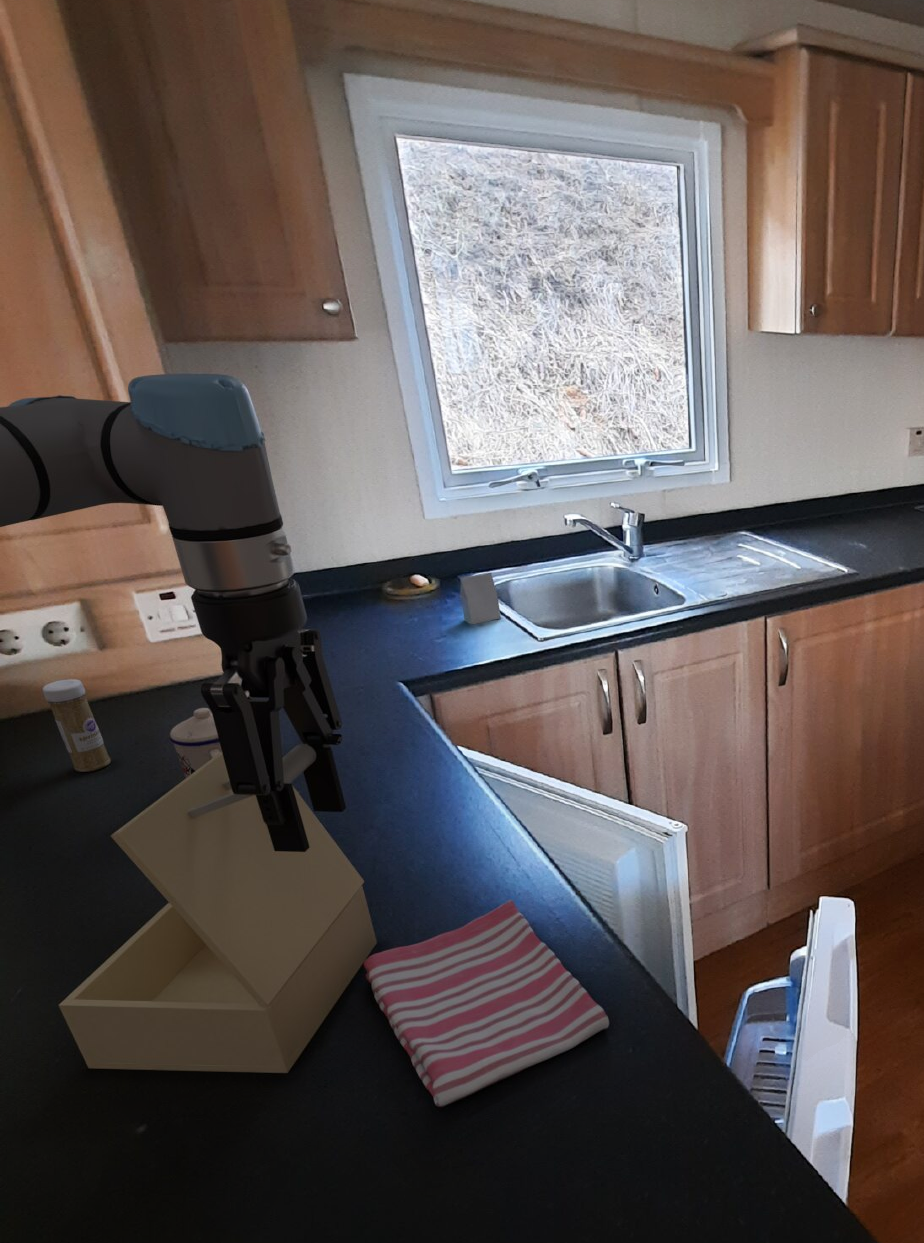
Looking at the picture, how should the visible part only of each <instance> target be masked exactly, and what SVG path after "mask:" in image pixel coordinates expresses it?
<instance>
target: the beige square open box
mask: <svg viewBox="0 0 924 1243" xmlns="http://www.w3.org/2000/svg"><path fill="white" fill-rule="evenodd" d="M368 906H369V905H368V902H367V899H366V894H365V890H364V886H363V885H361V887H360V888H359V889H358V890H357V892H356V893H355V894H354V896H353V897H352V898H351V899H350V901H349V902H348V903H347V905H346V906H345V907H344V908H343V910H342V911H341V912H340V914H339V915H338V916H337V917H336V919H335V920H334V921H333V923H332V924H331V925H330V926H329V928H328V929H327V930H326V932H325V933H324V934H323V935H322V937H321V938H320V939H319V941H318V942H317V943H316V944H315V946H314V947H313V948H312V950H311V951H310V952H309V953H308V955H307V956H306V957H305V958H304V960H303V961H302V962H301V964H300V965H299V966H298V967H297V969H296V970H295V971H294V973H293V974H292V975H291V976H290V978H289V979H288V980H287V982H286V983H285V984H284V985H283V987H282V988H281V989H280V991H279V992H278V993H277V994H276V996H275V997H274V998H273V1000H272V1001H271V1002H270V1003H269V1005H266V1006H263V1007H261V1006H260V1005H259V1004H258V1003H257V1002H256V1000H255V999H254V998H253V997H252V996H251V995H250V994H249V992H248V991H247V990H246V989H245V988H244V987H243V986H242V985H241V983H240V982H239V981H238V980H237V979H236V978H235V977H234V975H233V974H232V973H231V972H230V971H229V970H228V969H227V968H226V966H225V965H224V964H223V963H222V962H221V961H220V960H219V958H218V957H217V956H216V955H215V954H214V953H213V952H212V951H211V949H210V948H209V947H208V946H207V945H206V944H205V943H204V941H203V940H202V939H201V938H200V937H199V936H198V935H197V934H196V932H195V931H194V930H193V929H192V928H191V927H190V926H189V924H188V923H187V922H186V921H185V920H184V919H183V918H182V917H181V915H180V914H179V913H178V912H177V911H176V910H175V909H174V907H173V906H172V905H171V904H170V903H169V902H168V903H167V904H165V905H164V906H163V907H162V908H161V909H160V910H159V911H157V913H156V914H155V915H154V916H153V917H152V918H150V919H149V920H148V921H147V922H145V924H144V925H143V926H142V927H141V928H140V929H139V930H137V931H136V932H135V933H134V934H133V935H132V936H131V937H130V938H128V940H127V941H125V943H123V945H122V946H120V947H119V948H118V949H117V950H116V951H115V952H114V953H113V954H112V955H111V956H110V957H108V958H107V959H106V960H105V961H104V962H103V963H102V964H101V965H100V966H99V967H98V968H96V970H94V971H93V972H92V973H91V974H90V975H89V976H88V977H87V978H86V979H85V980H84V981H83V982H81V984H79V985H78V986H77V987H76V988H75V989H74V990H73V991H72V992H70V994H69V995H68V996H66V998H65V999H63V1000H62V1001H61V1002H60V1003H59V1004H58V1008H59V1009H60V1012H61V1013H62V1016H63V1017H64V1018H63V1019H64V1021H65V1022H66V1024H67V1026H68V1028H69V1031H70V1032H71V1034H72V1036H73V1039H74V1041H75V1043H76V1045H77V1048H78V1049H79V1051H80V1053H81V1056H82V1057H83V1060H84V1062H85V1064H86V1066H87V1068H88V1069H94V1070H95V1069H97V1070H98V1069H99V1070H100V1069H101V1070H103V1069H104V1070H105V1069H106V1070H137V1071H139V1070H143V1071H144V1070H145V1071H177V1072H178V1071H179V1072H182V1071H183V1072H185V1071H186V1072H222V1073H223V1072H225V1073H226V1072H227V1073H261V1074H262V1073H264V1074H265V1073H267V1074H269V1073H270V1074H288V1073H289V1072H290V1070H291V1069H292V1067H293V1066H294V1064H295V1063H296V1062H297V1060H298V1059H299V1058H300V1056H301V1054H302V1053H303V1051H304V1050H305V1049H306V1047H307V1046H308V1044H309V1043H310V1041H311V1040H312V1038H313V1037H314V1036H315V1034H316V1032H318V1030H319V1028H320V1027H321V1025H322V1024H323V1022H324V1021H325V1020H326V1017H328V1015H329V1014H330V1013H331V1010H332V1009H333V1008H334V1006H335V1005H336V1003H337V1002H338V1001H339V999H340V998H341V996H342V995H343V993H344V992H345V990H346V989H347V988H348V986H349V985H350V984H351V981H352V980H353V979H354V977H355V976H356V974H357V973H358V972H359V970H360V968H361V967H362V965H364V964H363V963H364V961H365V960H367V959H368V958H369V955H370V954H371V952H372V951H373V949H374V948H375V946H376V945H377V943H378V941H377V938H376V933H375V930H374V926H373V922H372V918H371V915H370V910H369V907H368Z"/></svg>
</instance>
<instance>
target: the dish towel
mask: <svg viewBox="0 0 924 1243" xmlns="http://www.w3.org/2000/svg"><path fill="white" fill-rule="evenodd" d="M362 965H363V967H364V969H365V971H366V972H367V973H366V974H365V979H366V980H367V982H369V983H370V987H371V990H372V993H373V996H374V997H373V998H374V999H375V1002H376V1003H377V1005H378V1006H379V1009H380V1010H381V1011H382V1012H383V1013H384V1015H385V1016H386V1018H387V1019H388V1022H389V1025H390V1027H391V1029H392V1030H393V1033H394V1035H395V1036H396V1038H397V1040H398V1041H399V1044H401V1046H402V1047H403V1049H404V1050H405V1051H406V1052H407V1055H408V1056H409V1058H410V1061H411V1063H412V1067H413V1068H414V1070H415V1072H416V1074H417V1076H418V1078H419V1079H420V1080H421V1083H422V1084H423V1086H424V1087H425V1089H426V1090H428V1091H429V1093H430V1095H431V1096H432V1098H433V1101H434V1104H435V1106H436V1107H437V1108H444V1107H446V1106H448V1105H450V1104H453V1103H455V1102H457V1101H460V1100H463V1099H465V1098H467V1097H470V1096H471V1095H473V1094H475V1093H478V1092H479V1091H481V1090H483V1089H484V1088H487V1087H489V1086H492V1085H494V1084H496V1083H497V1082H500V1081H502V1080H505V1079H508V1078H510V1077H512V1076H513V1075H516V1074H518V1073H520V1072H522V1071H525V1070H526V1069H529V1068H531V1067H533V1066H535V1065H537V1064H539V1063H543V1062H544V1061H547V1060H550V1059H551V1058H553V1057H557V1056H558V1055H561V1054H562V1053H566V1052H567V1051H569V1050H571V1049H573V1048H575V1047H577V1046H578V1045H580V1044H582V1043H583V1042H585V1041H586V1040H588V1039H589V1038H591V1037H593V1036H595V1035H596V1034H599V1033H600V1032H602V1031H604V1030H607V1029H608V1028H609V1026H610V1020H609V1017H608V1015H607V1014H606V1012H605V1010H604V1008H603V1007H602V1006H601V1005H600V1004H598V1003H597V1002H596V1001H595V1000H594V999H593V998H592V996H591V995H590V994H589V992H588V991H587V989H585V987H583V986H582V985H581V983H580V982H579V980H578V979H577V978H575V977H574V976H573V975H572V973H571V972H570V971H568V970H567V969H566V968H565V967H564V965H563V964H562V961H561V959H559V958H558V957H557V956H556V954H555V952H554V951H552V950H551V949H550V948H549V947H548V945H547V944H546V943H545V942H543V941H541V940H540V939H539V938H538V937H537V934H536V933H535V931H534V930H533V928H532V927H531V925H530V923H529V920H527V919H526V917H525V916H524V914H523V913H521V912H520V911H519V910H518V908H517V906H516V904H515V903H514V901H513V900H512V899H509V900H507V901H506V902H504V903H502V904H500V905H499V906H497V907H496V908H495V909H493V910H491V911H489V912H488V913H485V914H483V915H481V916H479V917H477V918H474V919H472V920H471V921H470V922H468V923H467V924H465V925H464V926H462V927H459V928H456V929H454V930H450V931H447V932H444V933H441V934H438V935H436V936H434V937H432V938H429V939H427V940H424V941H421V942H418V943H413V944H409V945H405V946H397V947H394V948H390V949H386V950H383V951H381V952H377V953H374V954H372V955H370V956H368V957H367V958H366V960H365V961H364V962H363V964H362Z"/></svg>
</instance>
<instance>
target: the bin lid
mask: <svg viewBox="0 0 924 1243" xmlns="http://www.w3.org/2000/svg"><path fill="white" fill-rule="evenodd" d="M315 760H316V752H315V751H314V749H313V748H312V747H310V746H308V744H303V743H299V744H297V745H296V746H295V747H293V748H292V749H291V750H290V751H289V752H288V753H286V754H285V755H284V756H282V762H283V775H284V783H292V782H293V781H294V780H296V779H297V778H298V777H299V776H300V775H301V774H303V771H304V770H305V769H306V768H308V767H309V766H310V765H311V764H312V763H313V762H314V761H315ZM268 777H269V776H268ZM293 789H294V793H295V797H296V800H297V804H298V807H299V811H300V814H301V818H302V822H303V825H304V829H305V832H306V836H307V839H308V843H309V846H310V847H309V849H308V850H307V851H306V852H284V851H274V847H273V844H272V841H271V837H270V834H269V831H268V828H267V825H266V824H265V822H264V821H263V818H262V814H261V810H260V808H259V805H258V801H257V798H256V795H236V794H234V793H233V791H232V788H231V784H230V780H229V777H228V773H227V769H226V765H225V761H224V757H223V753H222V751H221V752H220V753H219V754H218V755H216V756H215V757H214V758H212V759H211V760H210V761H208V762H207V763H206V764H204V765H203V766H202V767H200V768H199V769H198V770H196V771H195V772H194V773H193V774H191V775H190V776H189V777H187V778H185V779H183V780H182V781H180V783H178V784H176V785H175V786H174V787H173V788H171V789H170V790H169V791H168V792H166V793H165V794H164V795H162V796H161V797H160V798H158V799H157V800H156V801H154V802H153V803H151V804H150V805H149V806H148V807H146V808H145V809H144V810H142V811H141V812H140V813H138V814H137V815H136V816H135V817H132V819H131V820H129V821H128V822H127V823H125V824H124V825H123V826H121V827H120V828H119V829H118V830H116V831H115V832H113V833H112V834H111V835H110V837H111V838H112V839H113V841H114V842H115V843H116V844H117V845H118V846H119V848H120V849H121V850H122V851H123V852H124V853H125V854H126V855H127V857H128V858H129V859H130V860H131V861H132V862H133V863H134V865H136V867H137V868H138V869H139V870H140V871H141V872H142V874H143V875H144V876H145V877H146V878H147V879H148V880H149V882H150V883H151V884H152V885H153V886H154V887H155V888H156V890H157V891H158V892H159V893H160V894H161V895H162V896H163V898H164V899H165V900H166V901H167V902H168V903H170V904H171V905H172V906H173V907H174V909H175V910H176V911H177V912H178V913H179V914H180V915H181V917H182V918H183V919H184V920H185V921H186V922H187V923H188V924H189V926H190V927H191V928H192V929H193V930H194V931H195V932H196V934H197V935H198V936H199V937H200V938H201V939H202V940H203V941H204V943H205V944H206V945H207V946H208V947H209V948H210V949H211V951H212V952H213V953H214V954H215V955H216V956H217V957H218V958H219V960H220V961H221V962H222V963H223V964H224V965H225V966H226V968H227V969H228V970H229V971H230V972H231V973H232V974H233V975H234V977H235V978H236V979H237V980H238V981H239V982H240V983H241V985H242V986H243V987H244V988H245V989H246V990H247V991H248V992H249V994H250V995H251V996H252V997H253V998H254V999H255V1000H256V1002H257V1003H258V1004H259V1005H260V1006H261V1007H263V1006H266V1005H269V1003H270V1002H271V1001H272V1000H273V998H274V997H275V996H276V994H277V993H278V992H279V991H280V989H281V988H282V987H283V985H284V984H285V983H286V982H287V980H288V979H289V978H290V976H291V975H292V974H293V973H294V971H295V970H296V969H297V967H298V966H299V965H300V964H301V962H302V961H303V960H304V958H305V957H306V956H307V955H308V953H309V952H310V951H311V950H312V948H313V947H314V946H315V944H316V943H317V942H318V941H319V939H320V938H321V937H322V935H323V934H324V933H325V932H326V930H327V929H328V928H329V926H330V925H331V924H332V923H333V921H334V920H335V919H336V917H337V916H338V915H339V914H340V912H341V911H342V910H343V908H344V907H345V906H346V905H347V903H348V902H349V901H350V899H351V898H352V897H353V896H354V894H355V893H356V892H357V890H358V889H359V888H360V887H361V886H363V884H364V883H365V880H364V879H363V877H362V876H361V875H360V874H359V871H357V869H356V867H354V865H353V864H352V863H351V861H350V860H349V859H348V857H347V856H346V854H345V853H344V852H343V851H342V849H341V847H339V845H338V844H337V843H336V841H335V840H334V838H333V837H332V836H331V835H330V833H329V832H328V831H327V830H326V828H325V827H324V825H323V824H322V823H321V822H320V820H319V819H318V817H317V816H316V815H315V814H314V811H312V809H311V808H310V806H309V805H308V804H307V803H306V801H305V800H304V798H302V796H301V795H300V793H299V791H298V790H297V789H296V788H295V787H294V786H293Z"/></svg>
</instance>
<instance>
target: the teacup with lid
mask: <svg viewBox="0 0 924 1243" xmlns="http://www.w3.org/2000/svg"><path fill="white" fill-rule="evenodd" d="M169 740H170V742H172V743H173V745H174V748H175V751H176V755H177V758H178V760H179V763H180V766H181V769H182V772H183V774H184V777H185V779H186V778H187V777H189V776H190V775H191V774H193V773H194V772H195V771H196V770H198V769H199V768H200V767H202V766H203V765H204V764H206V763H207V762H208V761H210V760H211V759H212V758H214V757H215V756H216V755H218V754H219V753H220V752H221V751H222V750H221V746H220V742H219V738H218V734H217V730H216V727H215V723H214V719H213V715H212V711H211V710H210V708H209V707H200V708H197V709H195V710H194V711H193V716H191V717H189V718H188V719H185V720H183V721H181V722H179V723H178V724H176V725H175V726H173V728H172V729H171V730H170V733H169Z"/></svg>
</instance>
